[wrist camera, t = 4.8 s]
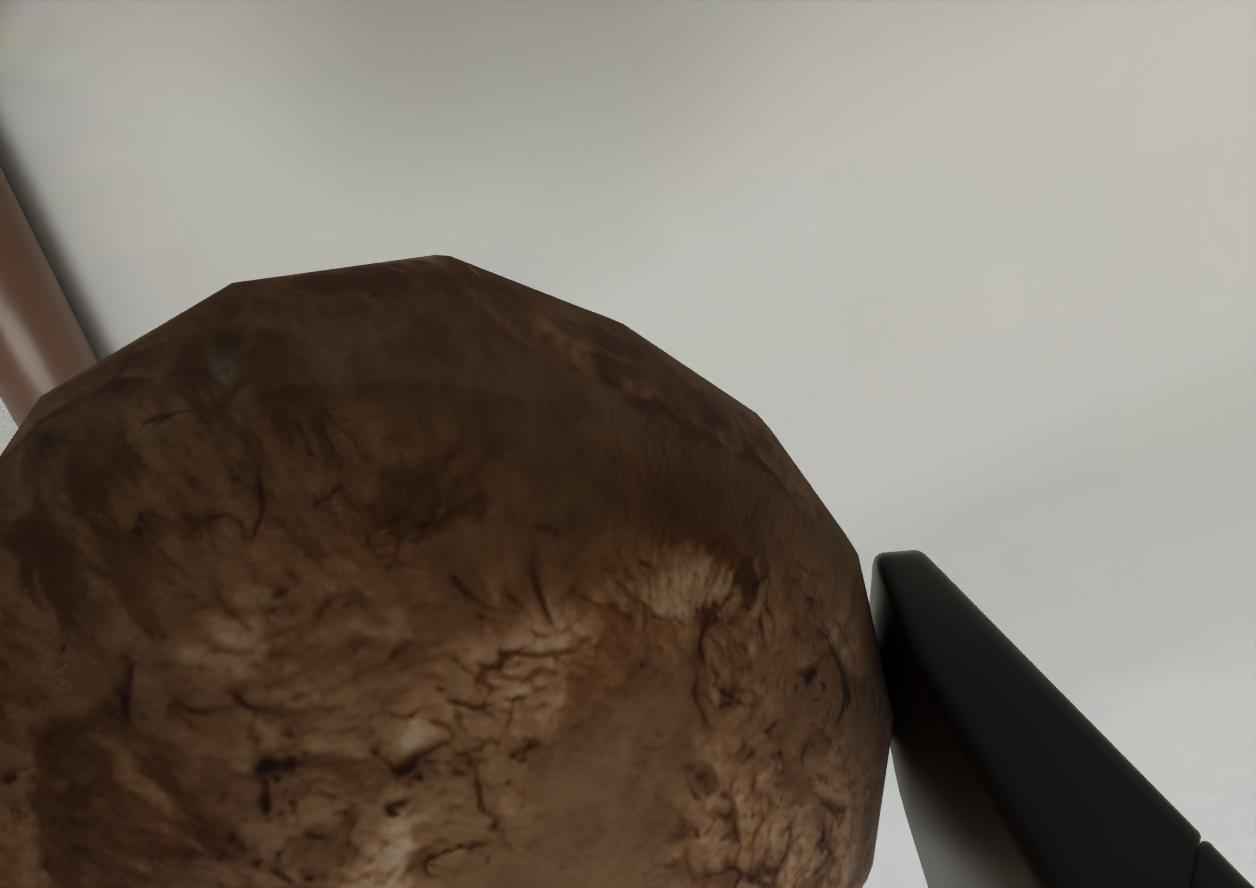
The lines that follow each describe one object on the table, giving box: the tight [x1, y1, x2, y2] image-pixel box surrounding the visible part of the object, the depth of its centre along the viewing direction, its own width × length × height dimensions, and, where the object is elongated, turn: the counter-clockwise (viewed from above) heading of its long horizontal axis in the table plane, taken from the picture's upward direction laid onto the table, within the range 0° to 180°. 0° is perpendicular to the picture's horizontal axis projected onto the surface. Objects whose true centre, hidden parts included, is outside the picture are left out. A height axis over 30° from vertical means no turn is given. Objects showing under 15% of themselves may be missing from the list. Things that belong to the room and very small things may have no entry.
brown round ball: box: [0, 255, 894, 888], centre depth 10 cm, size 8×8×6 cm
